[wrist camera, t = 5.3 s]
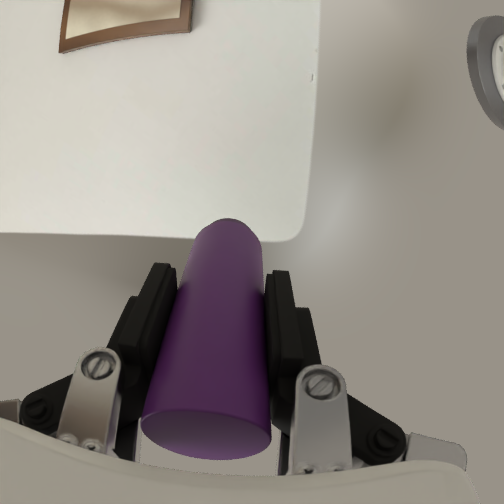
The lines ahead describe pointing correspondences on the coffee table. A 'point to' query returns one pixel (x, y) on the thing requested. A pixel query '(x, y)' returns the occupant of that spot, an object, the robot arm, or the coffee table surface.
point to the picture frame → (120, 21)
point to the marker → (214, 353)
